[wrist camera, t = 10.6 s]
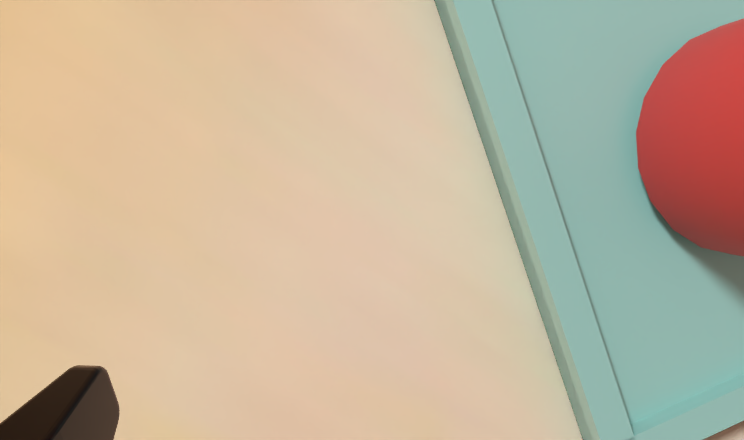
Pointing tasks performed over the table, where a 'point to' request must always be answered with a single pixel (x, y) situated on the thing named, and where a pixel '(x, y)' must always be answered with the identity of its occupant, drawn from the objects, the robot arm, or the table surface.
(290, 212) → the table surface
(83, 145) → the table surface
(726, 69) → the beer can
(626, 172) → the tray
